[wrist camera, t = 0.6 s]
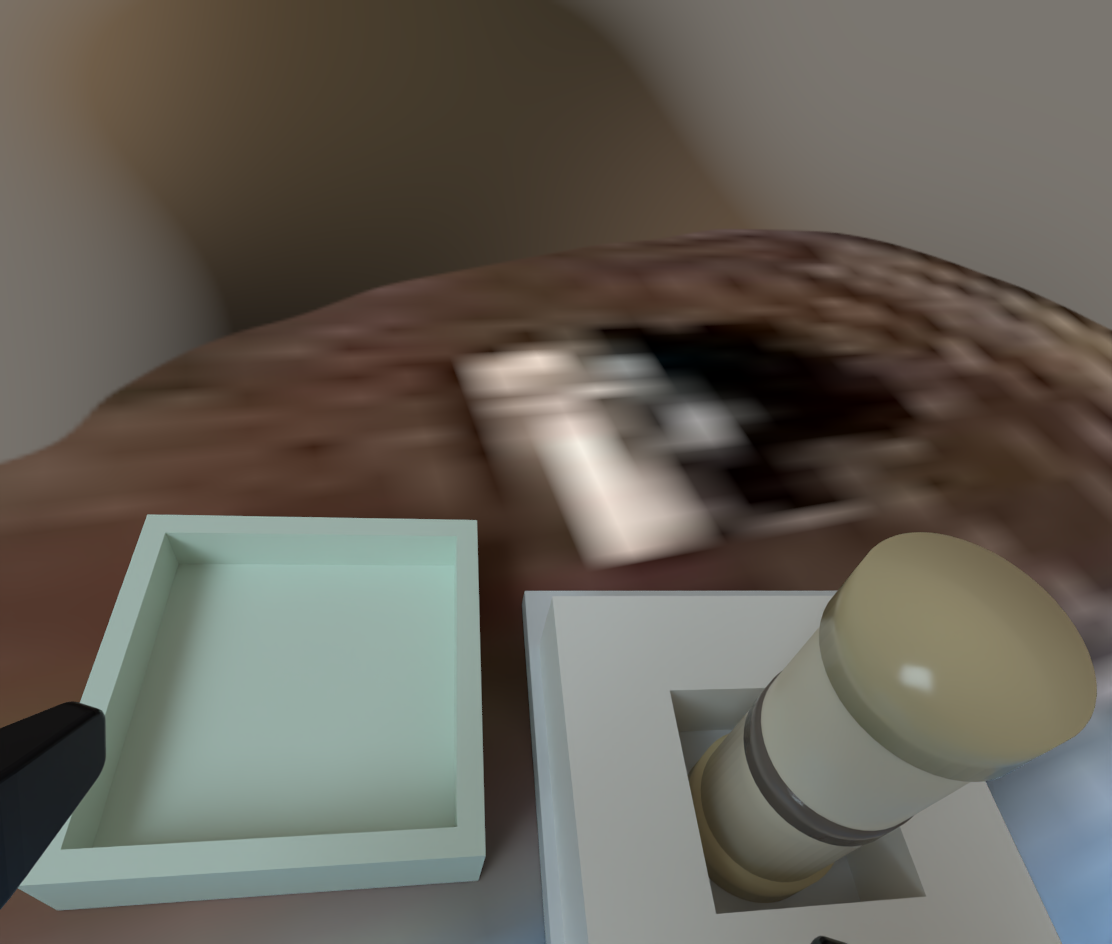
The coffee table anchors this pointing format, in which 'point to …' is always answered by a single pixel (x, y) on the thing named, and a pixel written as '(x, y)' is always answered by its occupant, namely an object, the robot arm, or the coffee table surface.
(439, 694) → the parts tray
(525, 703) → the coffee table surface
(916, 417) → the coffee table surface
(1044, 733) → the cream rounded cylinder
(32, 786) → the robot arm
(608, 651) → the grey block with recess
